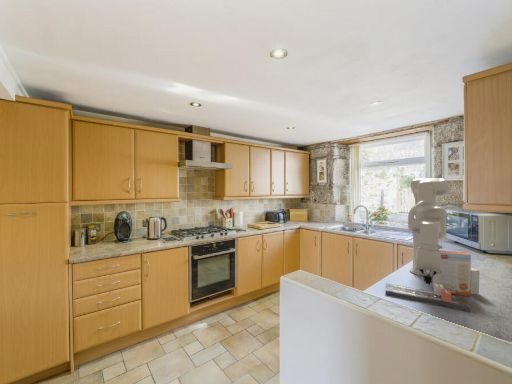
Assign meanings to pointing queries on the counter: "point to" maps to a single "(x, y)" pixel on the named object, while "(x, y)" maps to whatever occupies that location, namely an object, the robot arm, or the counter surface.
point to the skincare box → (474, 281)
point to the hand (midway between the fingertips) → (427, 283)
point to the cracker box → (454, 272)
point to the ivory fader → (438, 288)
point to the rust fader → (446, 295)
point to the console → (426, 297)
